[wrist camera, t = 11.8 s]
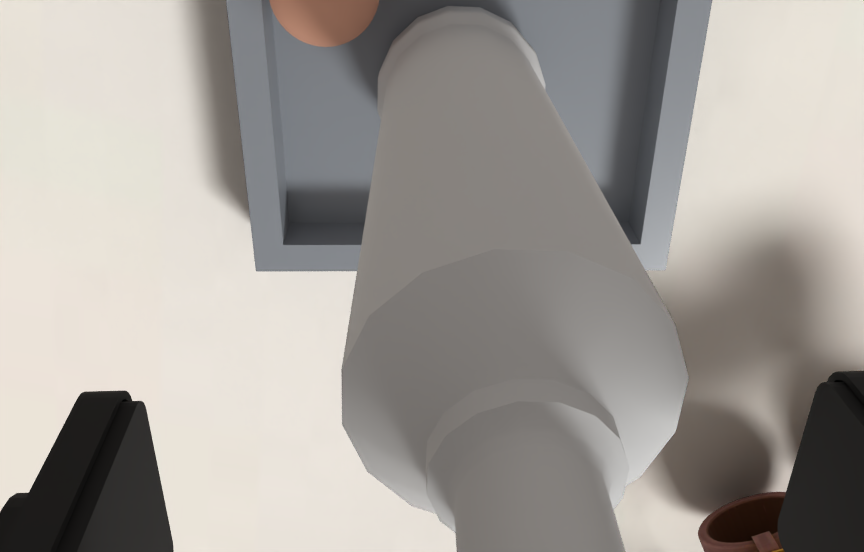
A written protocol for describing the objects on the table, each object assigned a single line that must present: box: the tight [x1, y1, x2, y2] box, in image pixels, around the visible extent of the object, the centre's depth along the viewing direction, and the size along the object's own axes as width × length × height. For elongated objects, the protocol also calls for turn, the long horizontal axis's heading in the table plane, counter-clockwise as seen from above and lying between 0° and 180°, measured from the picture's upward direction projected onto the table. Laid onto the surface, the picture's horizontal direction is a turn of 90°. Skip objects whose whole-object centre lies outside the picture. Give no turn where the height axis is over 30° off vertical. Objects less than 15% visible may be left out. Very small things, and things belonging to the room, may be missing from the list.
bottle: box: [342, 6, 689, 552], centre depth 16 cm, size 5×5×25 cm
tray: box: [226, 0, 712, 271], centre depth 26 cm, size 12×14×2 cm
